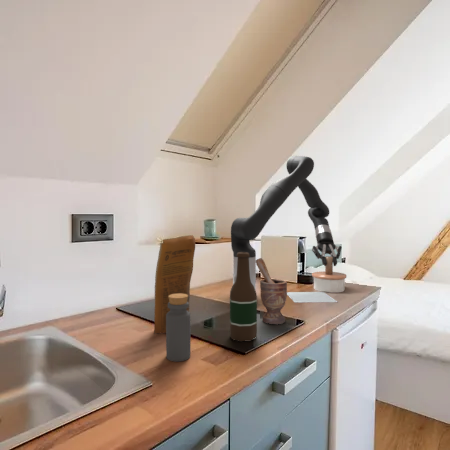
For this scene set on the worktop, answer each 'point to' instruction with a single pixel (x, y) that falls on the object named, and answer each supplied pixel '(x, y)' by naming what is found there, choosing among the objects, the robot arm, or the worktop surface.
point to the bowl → (329, 285)
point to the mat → (310, 297)
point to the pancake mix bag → (172, 275)
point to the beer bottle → (243, 302)
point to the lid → (329, 271)
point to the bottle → (178, 328)
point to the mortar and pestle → (272, 295)
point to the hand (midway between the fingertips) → (330, 264)
